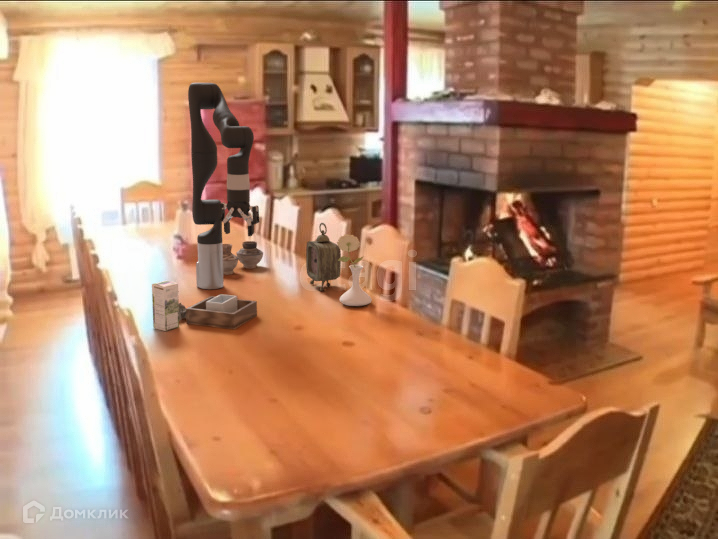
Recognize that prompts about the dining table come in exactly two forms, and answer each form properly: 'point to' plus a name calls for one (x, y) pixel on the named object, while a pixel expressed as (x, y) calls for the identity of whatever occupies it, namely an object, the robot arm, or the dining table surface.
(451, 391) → the dining table surface
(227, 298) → the small crate
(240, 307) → the walnut crate
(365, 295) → the flower in vase
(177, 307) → the syrup box
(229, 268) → the pottery
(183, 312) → the egg carton
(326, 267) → the tabletop clock
